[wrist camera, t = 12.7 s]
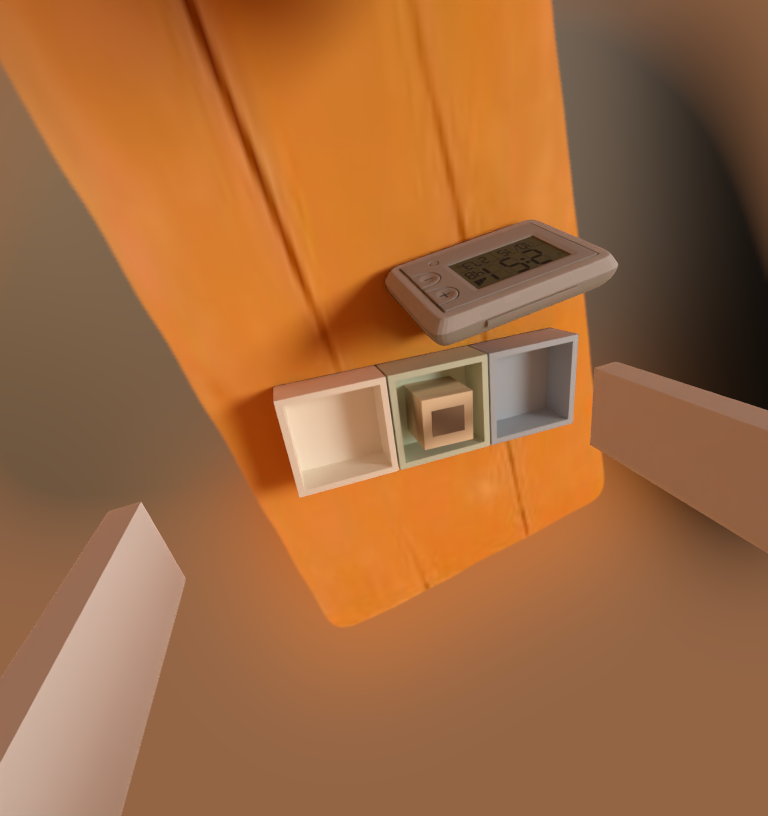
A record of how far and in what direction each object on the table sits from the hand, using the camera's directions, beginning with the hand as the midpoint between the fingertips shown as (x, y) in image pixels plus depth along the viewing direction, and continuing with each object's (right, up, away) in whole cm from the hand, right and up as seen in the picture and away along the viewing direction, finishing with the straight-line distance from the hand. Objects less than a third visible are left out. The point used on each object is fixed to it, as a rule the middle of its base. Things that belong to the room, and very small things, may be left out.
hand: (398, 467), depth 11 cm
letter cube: (+4, +2, +29) cm, 29 cm away
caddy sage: (+4, +3, +29) cm, 29 cm away
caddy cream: (-5, 0, +27) cm, 28 cm away
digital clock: (+7, +15, +26) cm, 30 cm away
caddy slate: (+14, +5, +31) cm, 34 cm away
